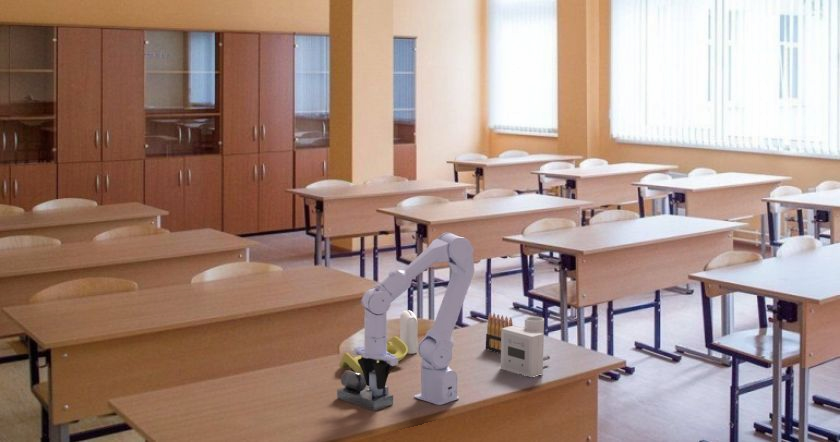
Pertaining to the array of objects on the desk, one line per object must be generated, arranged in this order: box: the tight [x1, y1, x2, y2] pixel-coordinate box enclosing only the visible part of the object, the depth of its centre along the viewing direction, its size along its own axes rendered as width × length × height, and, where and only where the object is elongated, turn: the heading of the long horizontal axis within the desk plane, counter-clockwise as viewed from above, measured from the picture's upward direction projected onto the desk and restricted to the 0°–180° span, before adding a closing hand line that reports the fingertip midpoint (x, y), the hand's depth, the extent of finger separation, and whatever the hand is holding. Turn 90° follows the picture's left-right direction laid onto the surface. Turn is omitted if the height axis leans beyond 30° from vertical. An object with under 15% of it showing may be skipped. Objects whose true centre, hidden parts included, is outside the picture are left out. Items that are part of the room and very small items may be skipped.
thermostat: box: [500, 316, 551, 378], centre depth 290 cm, size 12×14×15 cm
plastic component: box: [338, 336, 408, 375], centre depth 292 cm, size 20×7×10 cm
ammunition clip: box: [485, 312, 514, 354], centre depth 308 cm, size 11×2×12 cm, turn 42°
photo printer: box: [399, 309, 419, 355], centre depth 310 cm, size 10×4×12 cm, turn 13°
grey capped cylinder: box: [368, 370, 383, 396], centre depth 257 cm, size 4×4×6 cm
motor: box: [336, 369, 394, 411], centre depth 260 cm, size 15×7×7 cm, turn 46°
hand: (375, 386), depth 257 cm, fingers closed on grey capped cylinder, 3 cm apart
